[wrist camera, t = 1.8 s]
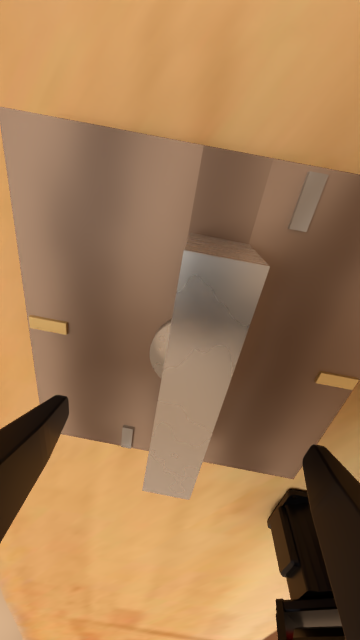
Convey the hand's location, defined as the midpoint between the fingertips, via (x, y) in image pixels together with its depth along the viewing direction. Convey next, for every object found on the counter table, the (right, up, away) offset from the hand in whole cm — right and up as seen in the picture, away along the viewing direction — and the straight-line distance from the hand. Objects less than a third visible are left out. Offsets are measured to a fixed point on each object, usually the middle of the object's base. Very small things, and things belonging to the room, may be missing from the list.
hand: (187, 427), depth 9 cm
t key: (+1, +3, +6) cm, 7 cm away
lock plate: (+1, +4, +7) cm, 8 cm away
